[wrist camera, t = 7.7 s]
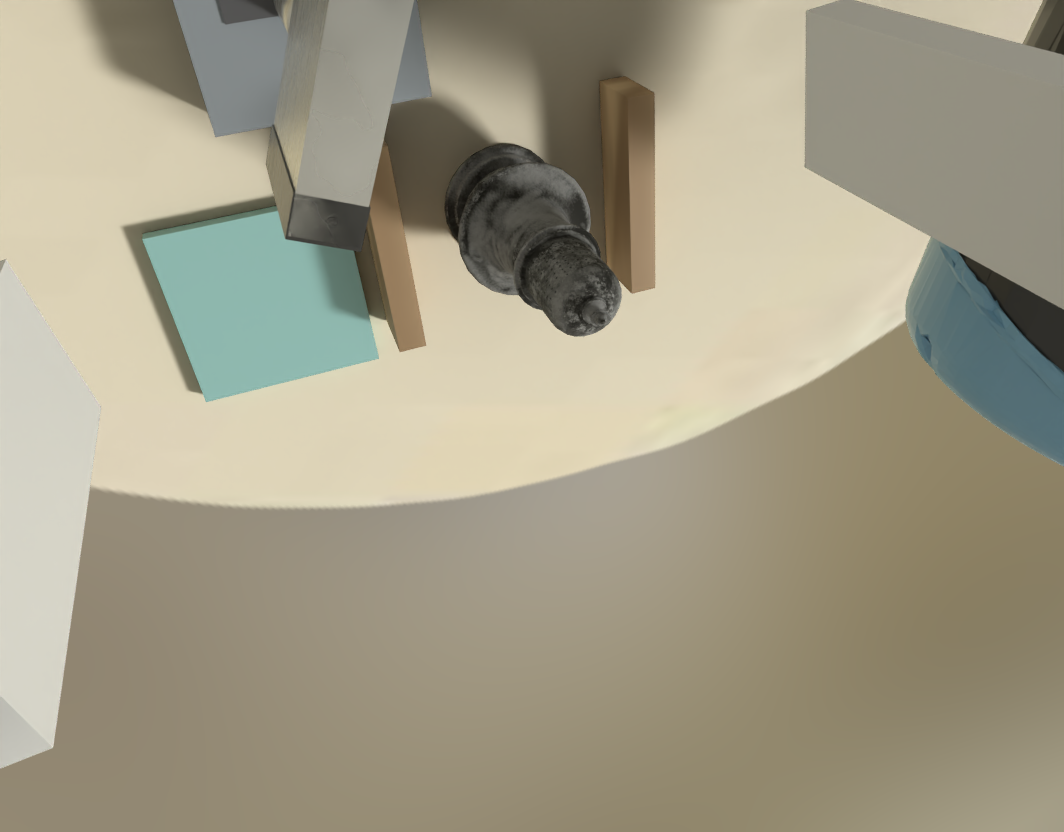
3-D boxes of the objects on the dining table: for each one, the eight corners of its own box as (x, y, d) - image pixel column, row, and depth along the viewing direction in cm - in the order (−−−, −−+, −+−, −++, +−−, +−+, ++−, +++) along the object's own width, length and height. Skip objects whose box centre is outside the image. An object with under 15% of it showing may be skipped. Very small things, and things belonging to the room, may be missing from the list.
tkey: (292, -148, 26) (350, -134, 17) (353, -126, 27) (438, -101, 18) (253, 115, 30) (285, 239, 21) (308, 128, 31) (360, 252, 22)
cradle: (624, 76, 37) (654, 93, 35) (628, 262, 42) (655, 287, 40) (344, 130, 35) (356, 152, 32) (387, 321, 40) (399, 352, 38)
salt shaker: (411, 211, 37) (488, 339, 28) (502, 108, 36) (614, 206, 27) (500, 286, 41) (595, 422, 32) (586, 195, 40) (711, 308, 30)
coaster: (339, 192, 36) (341, 197, 35) (376, 352, 41) (378, 358, 40) (142, 233, 34) (142, 239, 34) (205, 395, 39) (206, 402, 38)
